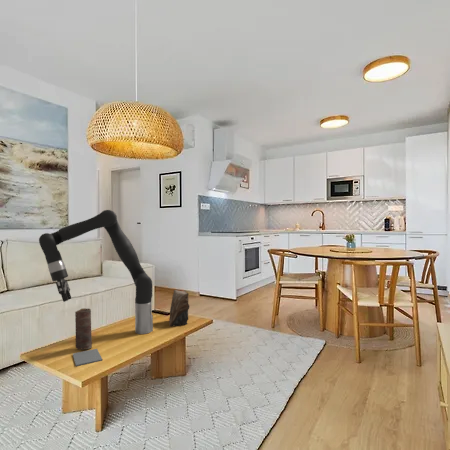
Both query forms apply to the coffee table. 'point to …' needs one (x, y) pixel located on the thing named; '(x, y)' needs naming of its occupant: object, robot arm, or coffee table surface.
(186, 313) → the dark brown rough block
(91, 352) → the mat
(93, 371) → the coffee table surface
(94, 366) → the coffee table surface
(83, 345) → the reddish brown cylinder
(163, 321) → the coffee table surface
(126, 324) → the coffee table surface
